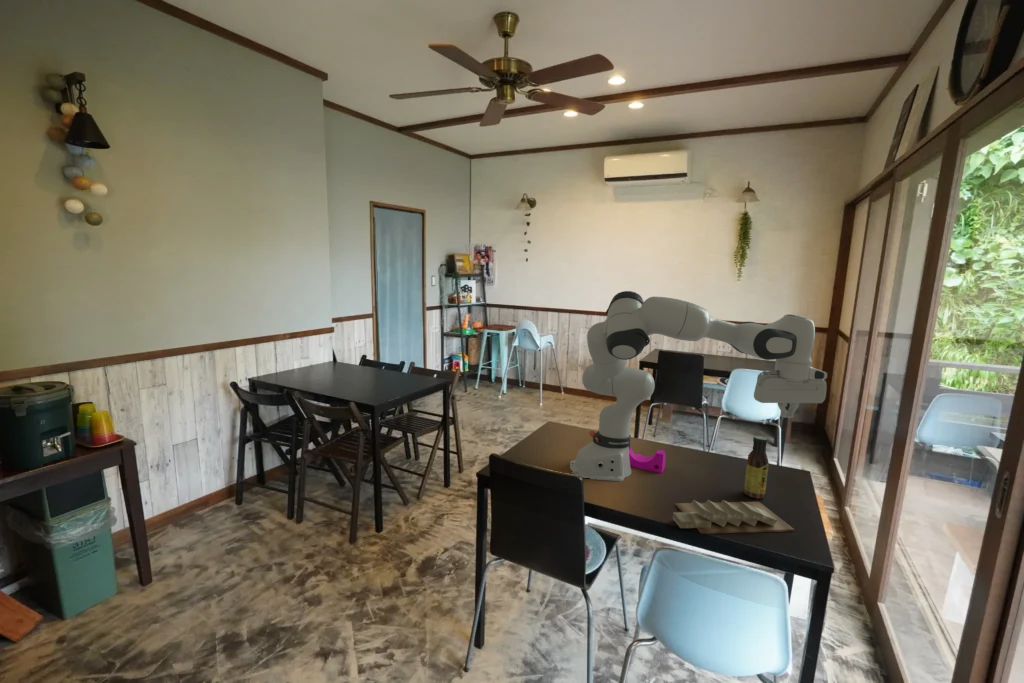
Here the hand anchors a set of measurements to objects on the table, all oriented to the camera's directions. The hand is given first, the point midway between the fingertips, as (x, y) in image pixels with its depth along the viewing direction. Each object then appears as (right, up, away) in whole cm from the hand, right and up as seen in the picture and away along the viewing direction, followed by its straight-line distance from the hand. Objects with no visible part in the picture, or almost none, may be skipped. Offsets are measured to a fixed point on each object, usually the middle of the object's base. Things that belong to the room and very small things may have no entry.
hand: (786, 417), depth 134 cm
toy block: (-31, -25, +38) cm, 56 cm away
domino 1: (-24, -29, -2) cm, 38 cm away
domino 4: (-11, -30, -1) cm, 32 cm away
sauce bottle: (0, -29, +18) cm, 34 cm away
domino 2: (-20, -30, -2) cm, 36 cm away
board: (-15, -31, +3) cm, 34 cm away
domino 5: (-5, -30, 0) cm, 30 cm away
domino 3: (-16, -30, -1) cm, 34 cm away
